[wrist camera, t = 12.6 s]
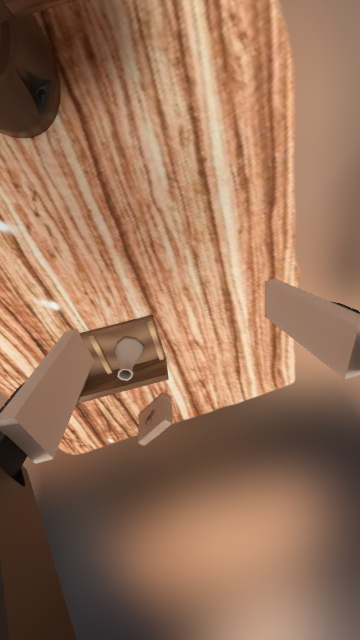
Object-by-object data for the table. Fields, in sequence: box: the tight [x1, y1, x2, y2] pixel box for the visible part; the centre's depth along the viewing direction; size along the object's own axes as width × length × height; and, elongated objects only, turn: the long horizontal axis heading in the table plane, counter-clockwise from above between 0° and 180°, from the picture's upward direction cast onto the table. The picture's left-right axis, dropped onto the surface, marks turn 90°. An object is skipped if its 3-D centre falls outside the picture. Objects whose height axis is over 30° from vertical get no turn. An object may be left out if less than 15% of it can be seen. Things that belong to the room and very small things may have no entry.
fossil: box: [138, 393, 172, 445], centre depth 57 cm, size 12×4×10 cm, turn 137°
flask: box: [115, 336, 144, 381], centre depth 45 cm, size 7×7×10 cm
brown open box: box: [77, 315, 168, 403], centre depth 46 cm, size 14×22×10 cm, turn 102°
